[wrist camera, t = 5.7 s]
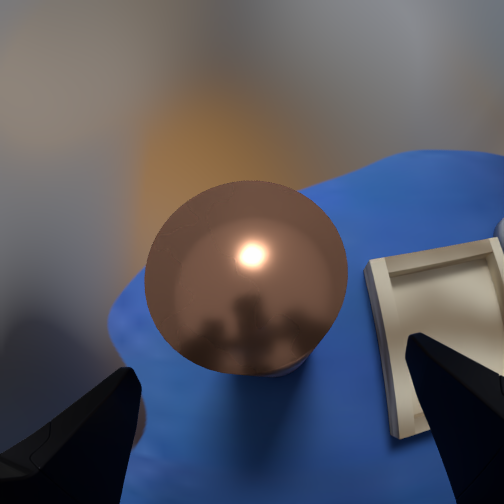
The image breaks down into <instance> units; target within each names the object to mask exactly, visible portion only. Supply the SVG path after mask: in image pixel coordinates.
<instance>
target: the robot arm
mask: <svg viewBox="0 0 504 504" xmlns="http://www.w3.org/2000/svg"><path fill="white" fill-rule="evenodd" d="M405 360H406V364H407V367H408V370H409V373H410V376H411V379H412V382H413V386H414V389H415V392H416V395H417V398H418V401H419V403H420V406H421V408H422V410H423V413H424V415H425V418H426V420H427V422H428V425H429V427H430V430H431V432H432V435H433V437H434V440H435V443H436V445H437V448H438V450H439V453H440V456H441V458H442V461H443V464H444V467H445V469H446V472H447V475H448V478H449V481H450V484H451V487H452V490H453V493H454V496H455V499H457V500H456V503H457V504H504V376H502V375H500V376H499V374H498V373H496V372H494V371H493V370H491V369H489V368H487V367H485V366H483V365H481V364H480V363H478V362H476V361H474V360H472V359H470V358H468V357H467V356H465V355H463V354H461V353H459V352H457V351H455V350H453V349H452V348H450V347H448V346H446V345H444V344H442V343H440V342H438V341H436V340H435V339H433V338H431V337H429V336H427V335H425V334H423V333H421V332H418V333H414V334H410V335H409V336H408V340H407V346H406V351H405ZM141 392H142V387H141V384H140V382H139V380H138V378H137V376H136V374H135V372H134V370H133V369H132V368H131V367H121V368H119V369H118V370H116V371H115V372H114V373H112V374H111V375H110V376H108V377H107V378H106V379H104V380H103V381H102V382H101V383H99V384H98V385H97V386H95V387H94V388H93V389H92V390H91V391H89V392H88V393H86V394H85V395H84V396H82V397H81V398H80V399H78V400H77V401H76V402H75V403H73V404H72V405H71V406H69V407H68V408H67V409H65V410H64V411H63V412H61V413H60V414H59V415H57V416H56V417H55V418H54V419H52V420H51V421H50V422H48V423H47V424H46V425H45V426H43V427H42V428H40V429H39V430H37V431H36V432H35V433H33V434H32V435H30V436H29V437H27V438H26V439H24V440H22V441H21V442H19V443H18V444H16V445H14V446H13V447H11V448H10V449H8V450H6V451H5V452H3V453H1V454H0V504H120V499H121V494H122V489H123V484H124V479H125V475H126V470H127V466H128V461H129V457H130V453H131V448H132V444H133V440H134V436H135V432H136V427H137V419H138V412H139V406H140V399H141Z"/></svg>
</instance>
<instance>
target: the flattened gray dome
mask: <svg viewBox="0 0 504 504" xmlns="http://www.w3.org/2000/svg"><path fill="white" fill-rule="evenodd" d="M494 237H498V240H499V242H500V245H501V248H502V251H503V254H504V218H503V219H502V220H501V221H500V222H499V223H498V224H497V225H496V227H495V230H494Z"/></svg>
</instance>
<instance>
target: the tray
mask: <svg viewBox="0 0 504 504" xmlns="http://www.w3.org/2000/svg"><path fill="white" fill-rule="evenodd" d="M363 271H364V275H365V279H366V284H367V288H368V293H369V297H370V302H371V307H372V312H373V317H374V322H375V327H376V332H377V338H378V344H379V350H380V356H381V362H382V368H383V375H384V382H385V390H386V398H387V406H388V415H389V425H390V435H392V436H394V437H396V438H398V439H403V438H406V437H409V436H412V435H415V434H418V433H421V432H424V431H427V430H430V427H429V425H428V422H427V420H426V418H425V415H424V413H423V410H422V408H421V406H420V403H419V401H418V398H417V395H416V392H415V389H414V386H413V382H412V379H411V376H410V373H409V370H408V367H407V364H406V360H405V351H406V346H407V340H408V336H409V335H410V334H414V333H418V332H421V333H423V334H425V335H427V336H429V337H431V338H433V339H435V340H436V341H438V342H440V343H442V344H444V345H446V346H448V347H450V348H452V349H453V350H455V351H457V352H459V353H461V354H463V355H465V356H467V357H468V358H470V359H472V360H474V361H476V362H478V363H480V364H481V365H483V366H485V367H487V368H489V369H491V370H493V371H494V372H496V373H498V374H499V376H500V375H502V376H504V254H503V251H502V248H501V245H500V242H499V240H498V237H494V238H489V239H484V240H479V241H474V242H468V243H463V244H458V245H452V246H447V247H441V248H436V249H430V250H425V251H419V252H413V253H408V254H402V255H396V256H390V257H384V258H378V259H372V260H369V262H368V263H367V265H366V267H365V268H364V270H363Z"/></svg>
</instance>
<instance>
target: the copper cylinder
mask: <svg viewBox="0 0 504 504" xmlns="http://www.w3.org/2000/svg"><path fill="white" fill-rule="evenodd" d="M347 279H348V267H347V259H346V253H345V249H344V246H343V243H342V240H341V237H340V235H339V233H338V231H337V229H336V227H335V226H334V224H333V223H332V221H331V220H330V218H329V217H328V216H327V215H326V214H325V212H324V211H323V210H322V209H321V208H320V207H319V206H317V205H316V204H315V203H314V202H313V201H312V200H310V199H309V198H307V197H306V196H304V195H303V194H301V193H299V192H297V191H295V190H293V189H290V188H288V187H285V186H282V185H278V184H275V183H270V182H263V181H239V182H232V183H227V184H223V185H219V186H217V187H214V188H211V189H208V190H206V191H204V192H202V193H200V194H198V195H197V196H195V197H193V198H192V199H190V200H189V201H187V202H186V203H185V204H183V205H182V206H181V207H180V208H179V209H177V211H175V212H174V213H173V214H172V215H171V216H170V218H169V219H168V220H167V221H166V222H165V224H164V225H163V227H162V228H161V230H160V231H159V233H158V234H157V236H156V238H155V240H154V242H153V244H152V247H151V250H150V252H149V255H148V259H147V264H146V269H145V295H146V300H147V305H148V308H149V311H150V314H151V317H152V319H153V321H154V323H155V325H156V327H157V329H158V330H159V332H160V333H161V335H162V336H163V338H164V339H165V340H166V341H167V342H168V343H169V344H170V345H171V346H172V348H173V349H175V350H176V351H177V352H178V353H180V354H181V355H182V356H183V357H185V358H187V359H188V360H190V361H192V362H193V363H195V364H197V365H200V366H202V367H204V368H207V369H209V370H213V371H217V372H221V373H228V374H238V375H249V376H261V377H280V376H284V375H287V374H289V373H291V372H293V371H294V370H296V369H297V368H298V367H300V366H301V364H302V363H303V362H304V361H305V360H306V359H307V357H308V356H309V355H310V354H311V352H312V351H313V350H314V349H315V347H316V346H317V345H318V344H319V342H320V341H321V340H322V338H323V337H324V336H325V335H326V333H327V332H328V331H329V329H330V328H331V326H332V324H333V323H334V321H335V319H336V318H337V316H338V313H339V311H340V309H341V306H342V304H343V300H344V297H345V293H346V287H347Z"/></svg>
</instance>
